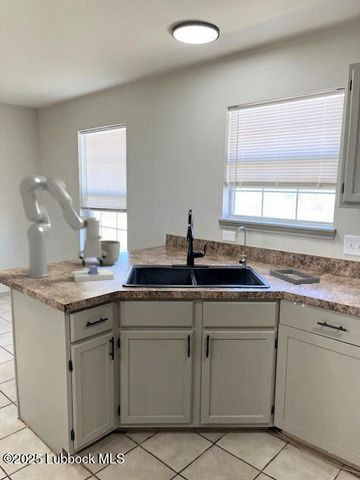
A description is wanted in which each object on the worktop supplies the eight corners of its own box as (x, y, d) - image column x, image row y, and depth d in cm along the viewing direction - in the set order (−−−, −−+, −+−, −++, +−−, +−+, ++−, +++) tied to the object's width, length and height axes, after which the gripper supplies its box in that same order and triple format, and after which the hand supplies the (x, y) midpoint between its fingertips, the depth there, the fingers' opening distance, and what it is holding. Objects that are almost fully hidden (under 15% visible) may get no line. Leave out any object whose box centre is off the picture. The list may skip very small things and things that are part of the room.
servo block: (88, 275, 223) (88, 264, 222) (95, 275, 224) (95, 263, 223) (90, 280, 213) (90, 267, 212) (98, 279, 214) (98, 267, 213)
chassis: (75, 281, 209) (75, 276, 208) (73, 276, 221) (73, 271, 220) (113, 279, 216) (113, 274, 216) (109, 274, 228) (109, 269, 228)
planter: (91, 263, 257) (90, 241, 255) (113, 261, 267) (113, 239, 265) (101, 268, 244) (101, 244, 241) (124, 265, 254) (124, 242, 251)
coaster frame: (295, 286, 210) (296, 280, 209) (269, 275, 235) (269, 269, 234) (319, 284, 216) (320, 278, 215) (291, 274, 240) (291, 268, 240)
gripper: (106, 237, 222) (106, 264, 224) (77, 237, 216) (76, 265, 218) (108, 239, 215) (108, 267, 217) (78, 239, 209) (78, 268, 211)
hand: (92, 266), depth 218 cm, fingers open, 9 cm apart
